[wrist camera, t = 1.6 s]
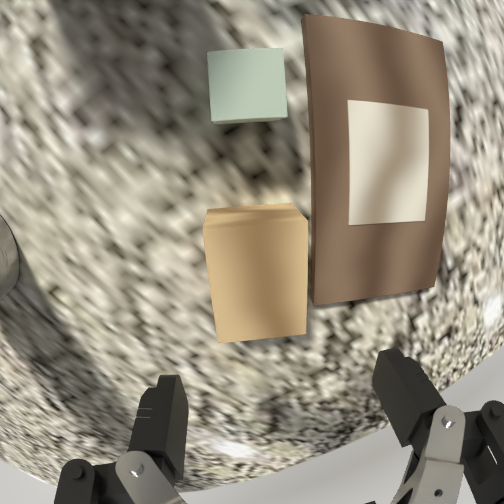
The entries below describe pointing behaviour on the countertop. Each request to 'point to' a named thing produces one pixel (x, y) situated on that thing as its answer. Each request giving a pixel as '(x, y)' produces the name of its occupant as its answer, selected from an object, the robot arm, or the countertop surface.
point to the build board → (375, 158)
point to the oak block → (257, 271)
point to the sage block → (247, 85)
